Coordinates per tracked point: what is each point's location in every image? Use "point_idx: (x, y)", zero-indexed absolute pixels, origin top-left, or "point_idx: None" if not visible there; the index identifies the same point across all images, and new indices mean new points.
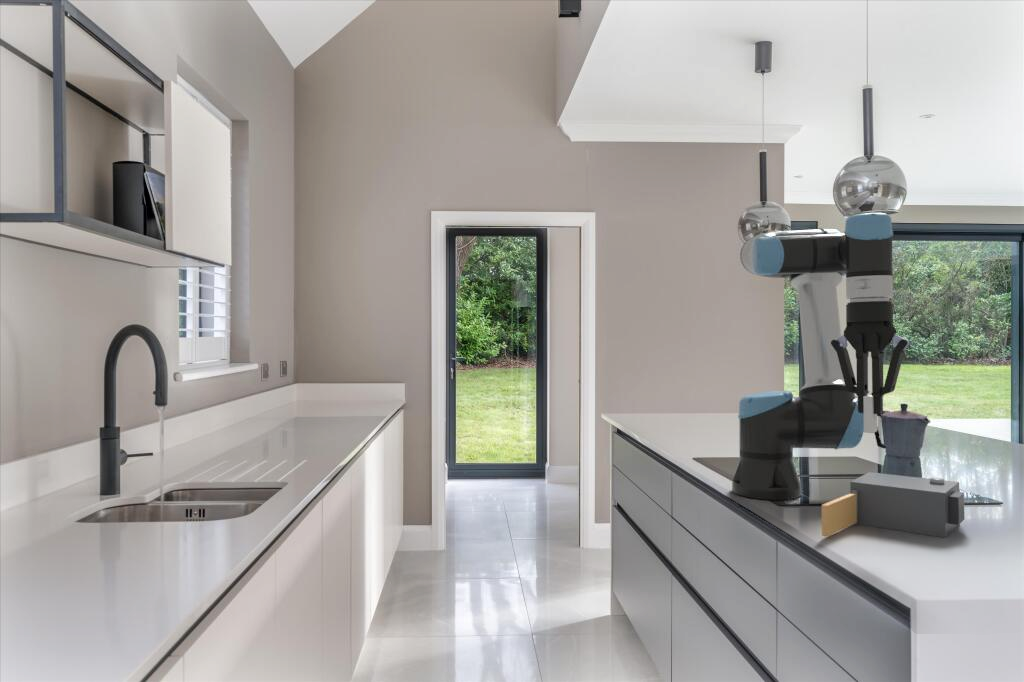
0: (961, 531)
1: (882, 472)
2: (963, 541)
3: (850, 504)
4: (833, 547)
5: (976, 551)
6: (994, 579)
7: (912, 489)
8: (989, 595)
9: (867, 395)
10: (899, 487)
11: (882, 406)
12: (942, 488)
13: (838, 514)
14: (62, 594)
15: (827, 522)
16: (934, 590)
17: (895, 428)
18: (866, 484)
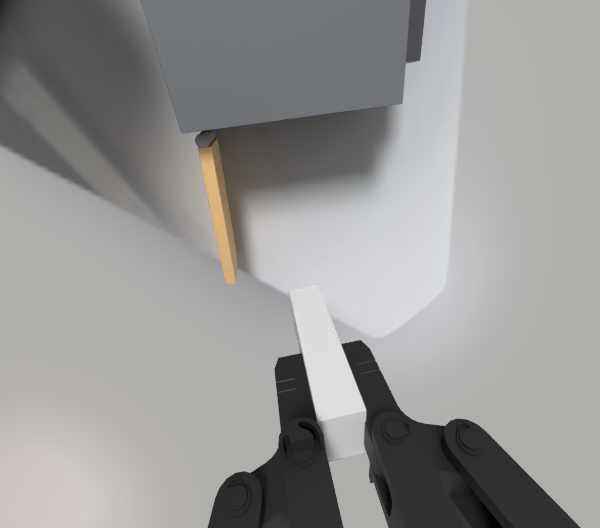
0: None
1: None
2: None
3: (219, 178)
4: (261, 276)
5: (411, 153)
6: (431, 254)
7: (333, 112)
8: (427, 298)
9: (324, 435)
10: (303, 113)
11: (377, 370)
12: (390, 38)
13: (229, 230)
14: None
15: (236, 267)
16: (387, 318)
17: None
18: (223, 126)
